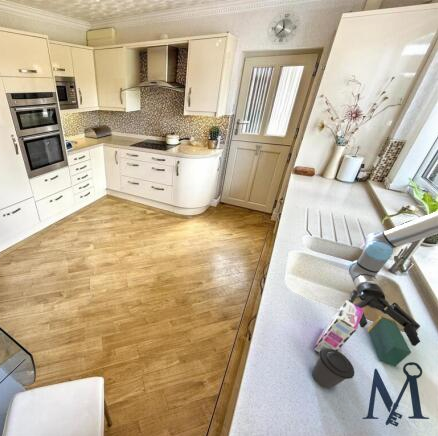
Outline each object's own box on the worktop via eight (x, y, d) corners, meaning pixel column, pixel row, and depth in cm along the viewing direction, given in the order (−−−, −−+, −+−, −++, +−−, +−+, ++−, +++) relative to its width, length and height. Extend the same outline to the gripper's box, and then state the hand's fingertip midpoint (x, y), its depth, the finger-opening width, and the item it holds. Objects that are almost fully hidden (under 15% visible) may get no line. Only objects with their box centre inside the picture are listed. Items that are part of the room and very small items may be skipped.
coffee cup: (345, 394, 65) (364, 376, 60) (317, 394, 65) (334, 376, 60) (326, 364, 72) (341, 346, 67) (300, 364, 72) (314, 345, 67)
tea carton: (367, 329, 84) (379, 315, 80) (381, 334, 83) (395, 320, 78) (379, 360, 74) (394, 346, 70) (395, 366, 73) (412, 352, 69)
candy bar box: (329, 362, 73) (357, 330, 65) (312, 349, 76) (336, 318, 68) (339, 340, 80) (365, 309, 71) (322, 329, 83) (346, 298, 74)
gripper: (402, 308, 90) (431, 358, 74) (328, 284, 99) (338, 324, 82) (415, 295, 87) (448, 344, 70) (336, 272, 95) (349, 311, 79)
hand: (389, 334), depth 76 cm, fingers open, 13 cm apart
